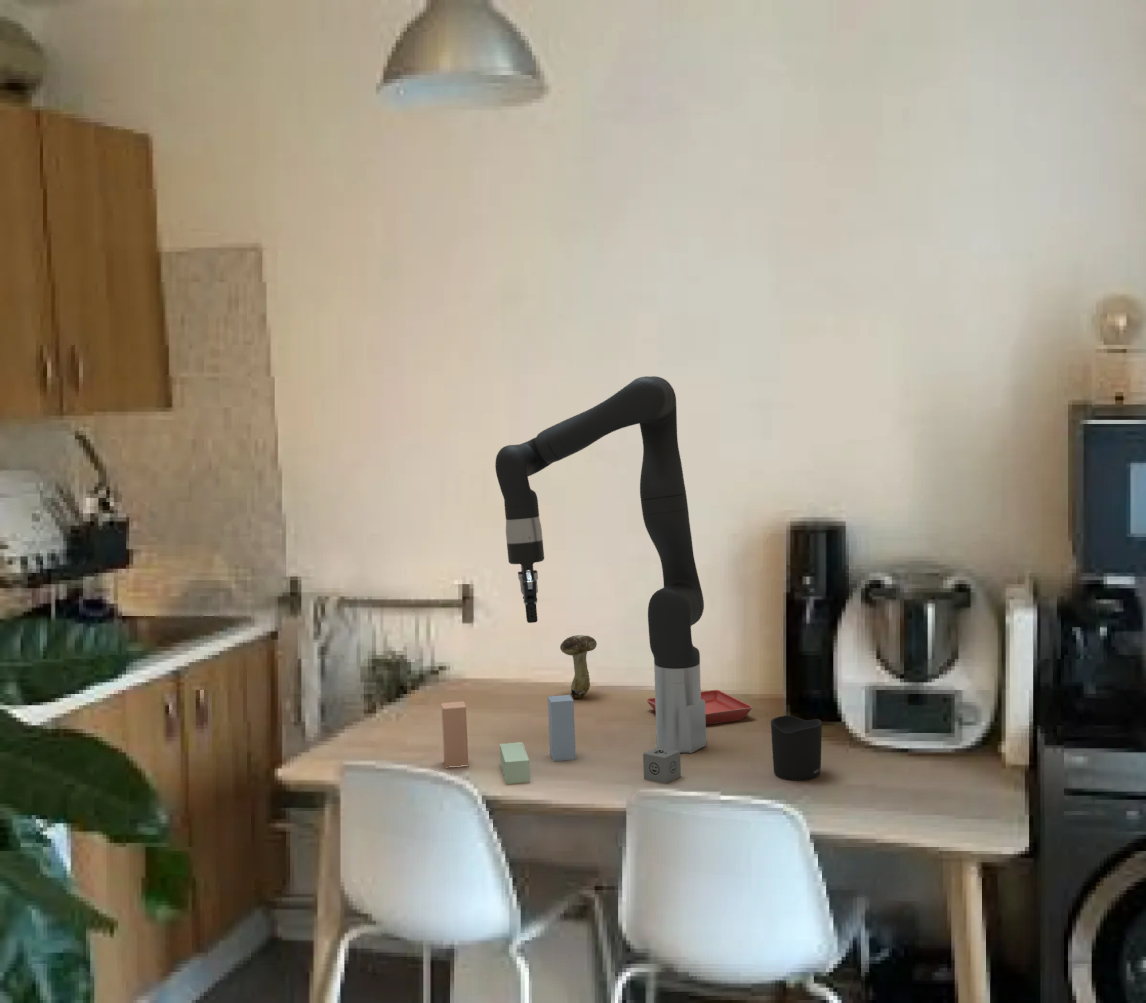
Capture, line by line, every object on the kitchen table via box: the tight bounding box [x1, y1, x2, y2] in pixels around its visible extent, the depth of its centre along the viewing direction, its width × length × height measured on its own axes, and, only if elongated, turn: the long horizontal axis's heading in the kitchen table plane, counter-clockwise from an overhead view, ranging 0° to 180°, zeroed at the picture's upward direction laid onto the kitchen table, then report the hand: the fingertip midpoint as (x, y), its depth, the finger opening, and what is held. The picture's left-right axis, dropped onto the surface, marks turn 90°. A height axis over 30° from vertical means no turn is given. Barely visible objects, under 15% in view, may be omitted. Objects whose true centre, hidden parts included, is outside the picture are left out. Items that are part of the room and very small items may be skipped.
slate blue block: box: [547, 694, 577, 762], centre depth 256 cm, size 4×4×12 cm
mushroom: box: [559, 634, 598, 699], centre depth 300 cm, size 9×9×15 cm
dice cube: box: [642, 746, 682, 785], centre depth 241 cm, size 5×5×5 cm
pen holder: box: [770, 715, 823, 781], centre depth 240 cm, size 9×9×10 cm
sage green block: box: [499, 741, 531, 785], centre depth 247 cm, size 4×4×12 cm
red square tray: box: [646, 689, 753, 726], centre depth 283 cm, size 18×18×3 cm
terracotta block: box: [440, 701, 469, 768], centre depth 254 cm, size 4×4×12 cm
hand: (532, 622), depth 268 cm, fingers closed
